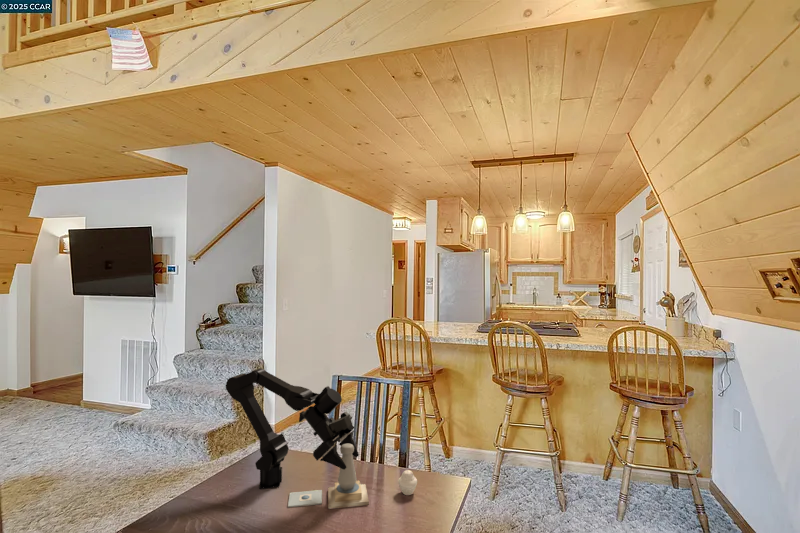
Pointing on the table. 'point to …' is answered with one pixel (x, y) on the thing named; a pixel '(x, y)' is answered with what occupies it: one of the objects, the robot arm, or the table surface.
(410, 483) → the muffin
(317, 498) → the pale grey rectangular tile
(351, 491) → the foundation
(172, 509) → the table surface
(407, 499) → the table surface
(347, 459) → the beige mushroom knob
